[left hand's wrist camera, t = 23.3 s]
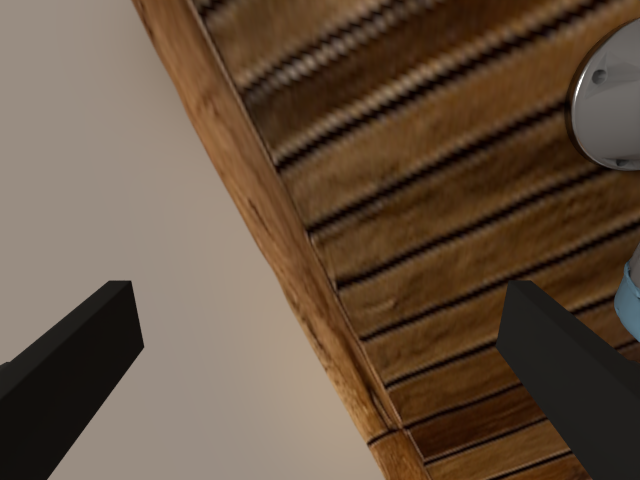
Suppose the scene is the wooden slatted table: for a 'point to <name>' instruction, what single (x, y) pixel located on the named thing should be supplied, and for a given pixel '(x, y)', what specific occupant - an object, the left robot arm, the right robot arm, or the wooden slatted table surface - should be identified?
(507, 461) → the wooden slatted table surface
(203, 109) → the wooden slatted table surface
